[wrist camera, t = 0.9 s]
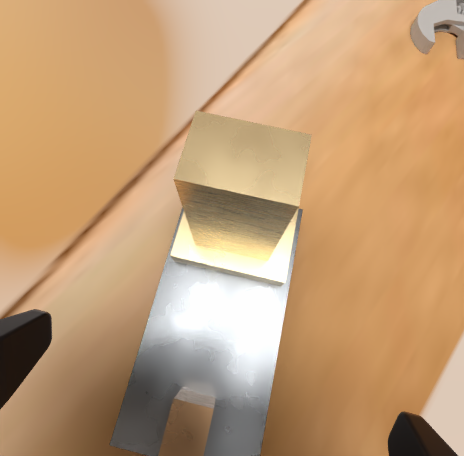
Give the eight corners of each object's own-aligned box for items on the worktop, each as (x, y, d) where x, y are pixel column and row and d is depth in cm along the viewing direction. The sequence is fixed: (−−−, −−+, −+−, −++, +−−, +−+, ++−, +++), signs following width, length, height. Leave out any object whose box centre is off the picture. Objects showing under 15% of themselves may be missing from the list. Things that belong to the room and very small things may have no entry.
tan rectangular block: (281, 286, 20) (331, 241, 11) (174, 261, 21) (130, 196, 11) (294, 214, 22) (347, 119, 12) (194, 192, 22) (172, 84, 13)
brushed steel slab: (251, 469, 19) (260, 514, 14) (120, 434, 19) (86, 466, 14) (296, 219, 24) (314, 190, 19) (192, 196, 24) (184, 162, 19)
